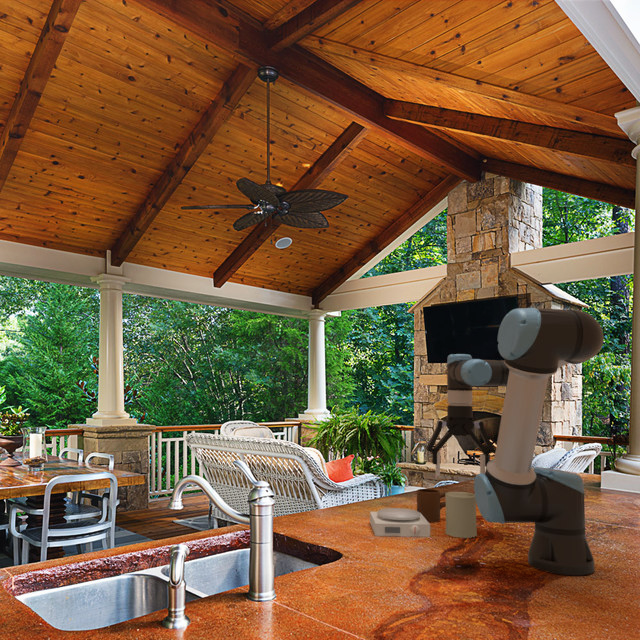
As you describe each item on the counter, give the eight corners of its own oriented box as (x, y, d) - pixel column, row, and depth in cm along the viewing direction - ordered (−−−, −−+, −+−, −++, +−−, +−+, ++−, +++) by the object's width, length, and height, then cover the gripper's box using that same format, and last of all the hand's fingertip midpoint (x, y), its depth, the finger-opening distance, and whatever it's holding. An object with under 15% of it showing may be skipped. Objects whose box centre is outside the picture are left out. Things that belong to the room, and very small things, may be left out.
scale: (430, 537, 167) (430, 519, 168) (375, 536, 167) (375, 518, 167) (420, 523, 183) (420, 507, 184) (370, 523, 183) (370, 506, 184)
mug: (448, 517, 194) (448, 488, 195) (456, 522, 187) (456, 492, 188) (413, 517, 192) (413, 488, 193) (420, 522, 185) (420, 492, 186)
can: (478, 539, 166) (477, 496, 167) (445, 536, 168) (445, 494, 169) (476, 531, 175) (475, 491, 176) (445, 529, 177) (444, 489, 178)
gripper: (496, 405, 180) (497, 474, 177) (416, 403, 180) (416, 473, 177) (504, 406, 172) (505, 478, 170) (421, 404, 172) (421, 477, 170)
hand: (460, 476), depth 174 cm, fingers open, 13 cm apart
